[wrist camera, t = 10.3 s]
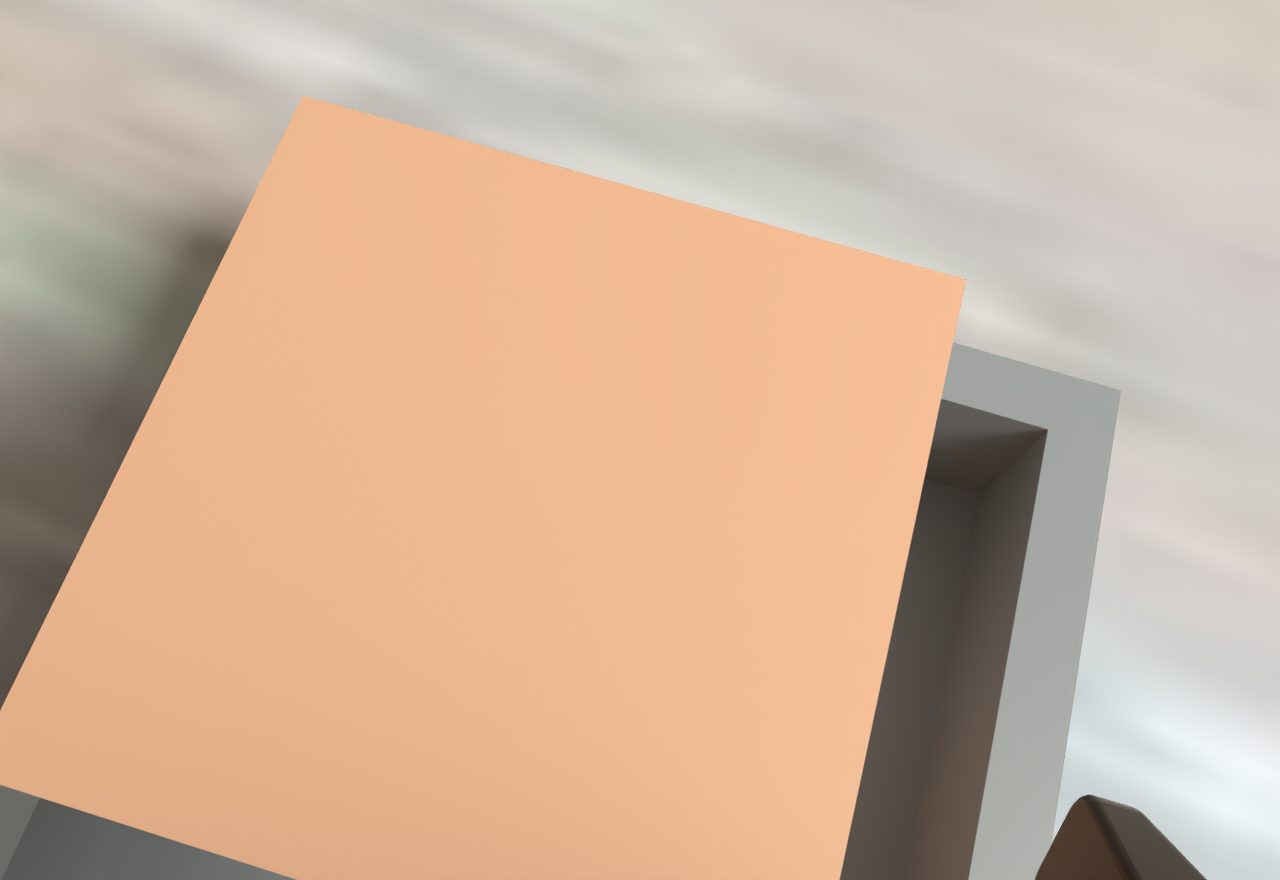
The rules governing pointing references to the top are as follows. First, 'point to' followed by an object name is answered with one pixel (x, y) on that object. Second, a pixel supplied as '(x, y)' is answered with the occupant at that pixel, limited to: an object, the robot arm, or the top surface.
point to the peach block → (498, 533)
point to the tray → (915, 664)
